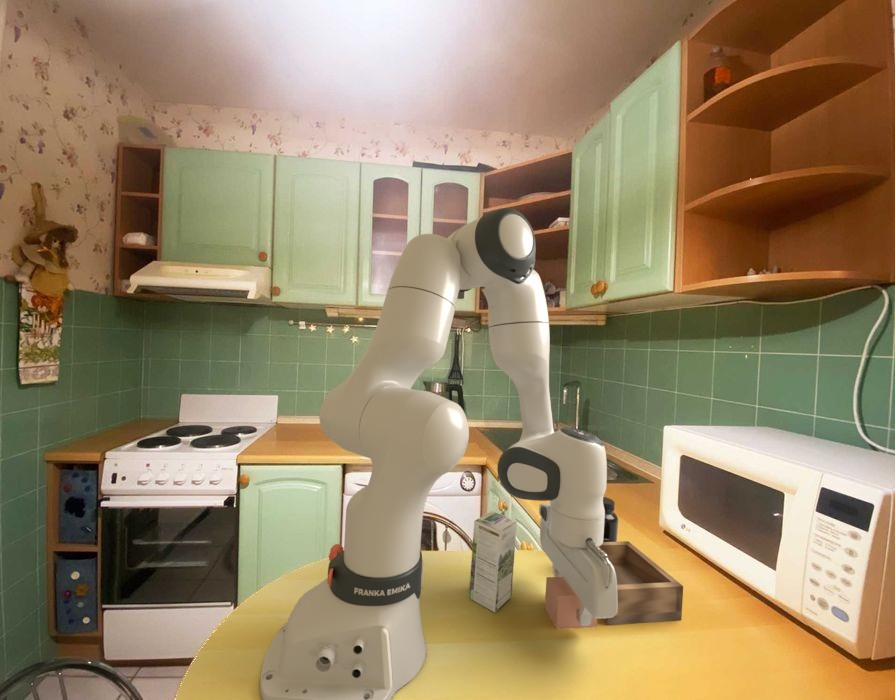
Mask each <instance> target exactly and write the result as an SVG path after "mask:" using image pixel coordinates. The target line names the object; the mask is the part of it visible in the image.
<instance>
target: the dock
mask: <svg viewBox="0 0 895 700" xmlns="http://www.w3.org/2000/svg"><path fill="white" fill-rule="evenodd" d="M599 548H600V549H601V550H603V551H604V552H605V553H606V554H607V555H608V560H609V561H610V562H611V564H612V565H613V567H614V569H615V573H616V579H617V597H618V609H617V614H616V615H615V616H614V617H612V618H602V620H603V621H604V623H605V625H606V626H611V625H612V626H613V625H614V626H616V625H626V624H627V625H628V624H641V623H643V624H644V623H656V622H669V621H670V622H671V621H673V622H674V621H682V619H683V618H682V616H683V601H684V600H683V597H684V585H682V584H681V583H680V582H679V581H678V580H677V579H675V578H674V577H673V576H672V575H670V574H669V573H668V572H667V571H665V570H664V569H663V568H662V567H660V566H659V565H658V564H657V563H656V562H654V561H653V560H652V559H651V558H650V557H648V556H647V555H646V554H645V553H643V552H642V551H641V550H640V549H639V548H637V547H636V546H635V545H633V543H631V542H630V541H629V540H628V541H617V542H603V543H602V545H601V546H599Z"/></svg>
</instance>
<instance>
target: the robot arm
mask: <svg viewBox="0 0 895 700" xmlns="http://www.w3.org/2000/svg"><path fill="white" fill-rule="evenodd" d="M536 246H537V245H536V237H535V232H534V229H533V227H532V225H531V223H530V221H528V219H527V218H526V217H525V215H523V214H522V213H521V212H520V211H518V210H517V209H515V208H512V207H503V208H498V209H494V210H491V211H488V212H486V213H484V214H483V215H482V216H481V217H479V218H477V219H475V220H473V221H471V222H469V223H466V224H464V225H462V226H460V227H459V228H458V229H456V230H455V231H454V232H452V233H451V234H450V235H449V236H448V237H445V236H442V235H439V234H434V233H422V234H418V235H416V236H415V237H412V238H411V239H410V240H409V241H408V242H407V244H406V245H405V247H404V249H403V251H402V252H401V255H400V257H399V259H398V261H397V263H396V266H395V268H394V270H393V272H392V275H391V276H392V277H391V279H390V281H389V285H388V287H387V291H386V295H385V298H384V301H383V306H382V308H381V311H380V314H379V317H378V318H379V319H378V321H377V324H376V327H375V331H374V333H373V335H372V338H371V341H370V343H369V345H368V346H367V348H366V350H365V351H364V354H363V355H362V356H361V357H360V360H359V362H358V363H357V364H356V366H355V367H354V369H353V370H352V372H350V373H349V375H348V376H347V377H346V379H345V380H344V381H343V382H342V383H340V384H339V385H337V386H335V387H334V388H333V389H332V390H330V391H329V392H328V393H327V395H326V396H325V397H324V399H323V401H322V403H321V407H320V409H319V417H318V418H319V425H320V428H321V430H322V432H323V433H324V434H325V436H326V437H327V438H328V439H330V440H331V441H332V442H333V443H334V444H336V445H338V446H339V447H340V448H341V449H343V450H345V451H347V452H351V453H352V454H356V455H358V456H362V457H365V458H368V459H370V461H371V464H372V466H371V467H372V468H371V475H370V479H369V481H368V484H367V485H366V486H363V487H362V488H360V489H359V490H358V491H356V492H355V493H354V494H353V495H352V496H351V497H350V499H349V501H348V503H347V505H346V509H345V521H344V523H345V524H344V541H343V543H344V547H343V546H342V545H341V544H338V543H337V544H334V545H332V547H331V548H330V550H329V554H328V560H329V564H328V568H327V578H326V579H324V580H322V581H321V582H320V583H318V584H317V585H315V586H314V587H313V588H311V589H309V590H308V591H305V593H303V594H302V596H301V597H300V598H299V599H298V601H297V602H296V603H295V605H294V607H293V609H292V610H291V612H290V615H289V617H288V619H287V621H286V622H285V623H284V624H283V626H281V627H280V628H279V630H278V631H277V633H276V634H275V636H274V637H273V639H272V640H271V643H270V645H269V647H268V649H267V651H266V653H265V656H264V660H263V661H262V662H263V664H262V667H261V672H260V678H259V679H260V681H259V691H260V695H261V698H262V700H391V699H392V698H393V696H394V694H395V693H396V692H397V691H398V690H400V689H401V688H403V687H404V686H405V685H407V684H408V683H409V682H411V681H412V680H413V679H414V678H415V677H416V675H417V674H418V673H419V671H420V670H421V669H422V668H423V665H424V662H425V659H426V655H427V644H426V643H427V642H426V639H425V637H424V636H425V635H424V632H423V626H422V618H421V606H420V598H421V594H422V589H423V577H424V576H423V575H424V560H423V554H422V550H421V544H422V543H421V542H422V532H423V531H422V530H423V521H424V520H423V519H424V511H425V505H426V502H427V500H428V496H429V493H430V492H431V489H432V488H433V486H434V485H435V483H436V482H437V481H438V479H439V480H440V478H441V477H442V476H443V475H445V474H447V473H448V472H450V471H452V470H453V469H454V468H455V467H456V466H457V465H458V464H459V463H460V461H461V460H462V458H463V457H464V455H465V453H466V450H467V448H468V444H469V439H470V438H469V437H470V428H469V427H470V426H469V422H468V419H467V415H466V413H465V411H464V409H463V408H462V407H461V405H460V404H458V403H457V402H455V401H453V400H450V399H448V398H446V397H444V396H441V395H439V394H436V393H433V392H432V391H427V390H421V389H420V390H419V389H413V388H412V387H413V386H414V384H415V382H416V381H417V379H418V378H419V377H420V376H421V374H422V373H424V372H425V370H427V369H428V368H430V367H432V366H434V365H435V364H437V363H438V362H439V361H440V360H441V359H442V358H443V356H444V355H445V352H446V349H447V344H448V341H449V336H450V332H451V328H452V324H453V320H454V316H455V311H456V307H457V302H458V297H459V293H465V292H468V291H470V290H472V289H478V288H480V287H481V292H483V294H484V297H485V298H486V302H487V305H488V307H487V309H488V310H487V313H488V314H487V322H488V323H487V324H488V326H487V327H488V338H489V340H488V341H489V346H490V351H491V354H492V355H491V356H492V357H493V361H494V363H495V365H496V366H497V367H498V368H499V369H500V370H501V371H502V372H503V373H505V374H506V375H507V376H508V377H509V379H510V380H511V381H512V382H513V384H514V385H515V388H516V390H517V394H518V400H519V408H520V415H521V416H520V417H521V425H522V431H521V436H520V438H519V440H518V441H516V442H515V443H513V444H512V445H511V446H509V447H508V448H507V449H505V451H504V452H502V454H501V455H500V457H499V459H498V462H497V476H498V479H499V482H500V484H501V485H502V487H503V488H504V489H505V490H506V492H507V493H508V494H510V495H511V496H513V497H514V498H518V499H520V500H527V501H539V502H540V501H541V502H543V501H544V502H547V501H549V502H550V503H549V502H548V503H540V504H539V508H538V509H539V511H538V513H539V516H540V520H539V521H540V522H539V523H540V524H539V542H540V547H541V550H542V551H543V553H544V554H545V555H546V556H547V558H548V559H549V561H551V564H552V572H553V575H554V576H553V577H563V578H564V579H565V580H566V582H567V583H568V584H569V586H570V587H571V588H572V590H573V591H574V592H575V594H576V595H577V596H578V598H579V599H580V604H581V605H582V607H581V609H577V611H576V614H577V616H576V618H577V620H578V622H579V623H580V625H581V626H589V625H590V624H591V615H592V616H593V617H594V618H596V619H597V620H598V619H599V620H601V619H602V618H612V617H614V616H615V615H616V614H617V609H618V597H617V579H616V573H615V569H614V567H613V565H612V564H611V562H610V561H609V560H608V555H607V554H606V553H605V552H604V551H603V550H601V549H600V548H599V546H601V545H602V543H603V537H604V520H605V509H604V505H603V497H605V493H606V490H607V485H608V484H607V482H608V481H607V480H608V467H607V466H608V462H607V453H606V448H605V445H604V443H603V442H602V441H601V440H600V438H599V437H598V436H596V435H594V434H592V433H591V432H589V431H586V430H583V429H581V428H580V429H579V428H575V427H574V428H573V427H567V426H566V427H561V428H559V429H558V430H556V427H555V423H554V412H553V405H552V395H551V387H550V348H551V347H550V345H551V344H550V343H551V342H550V341H551V338H550V334H551V333H550V332H551V331H550V324H549V323H550V319H549V311H548V305H547V299H546V294H545V289H544V287H543V282H542V279H541V277H540V274H539V273H538V272H537V271H536V270H535V269H534V268H535V264H536V252H537V251H536V250H537V247H536ZM482 287H483V288H482ZM602 620H603V619H602Z"/></svg>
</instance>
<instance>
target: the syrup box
mask: <svg viewBox="0 0 895 700" xmlns="http://www.w3.org/2000/svg"><path fill="white" fill-rule="evenodd" d="M473 523H474V524H473V534H472V536H473V537H472V549H471V562H470V563H471V564H470V575H469V576H470V577H469V591H468V597H469V599H470V600H471V601H473V602H475V603H477V604H479V605H480V606H482V607H484V608H486V609H488V610H489V611H491V612H493V613H497V612H498V611H499V610H500V609H501V608H503V606H504V605H505V604H506V603H507V602H509V600H510V599H511V598H512V595H513V594H512V592H513V582H514V581H513V580H514V564H515V553H516V551H515V550H516V536H517V521H516V520H514V519H512V518H511V517H509V516H507V515H504V514H501V513H499V512H496V511H489V512H488V513H486V514H484V515H483V516H480V517H479V518H477V519H475V520H474V522H473Z"/></svg>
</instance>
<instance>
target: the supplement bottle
mask: <svg viewBox="0 0 895 700" xmlns="http://www.w3.org/2000/svg"><path fill="white" fill-rule="evenodd" d="M603 505H604V509H605V520H604V537H603V542H618V531H619V529H618V528H619V517H618V515H617V514H616V512H615V501H614V499H612V498H610V497H606V496H603Z"/></svg>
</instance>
